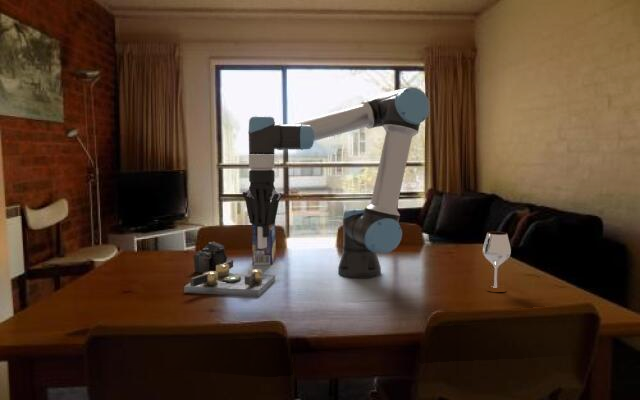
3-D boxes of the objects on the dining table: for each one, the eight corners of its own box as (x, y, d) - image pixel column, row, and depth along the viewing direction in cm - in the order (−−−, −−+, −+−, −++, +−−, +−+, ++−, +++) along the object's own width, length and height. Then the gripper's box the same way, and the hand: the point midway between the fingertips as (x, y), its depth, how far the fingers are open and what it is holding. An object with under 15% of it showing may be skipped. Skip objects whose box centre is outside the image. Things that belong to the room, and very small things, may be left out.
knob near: (210, 280, 154) (210, 270, 154) (220, 282, 152) (220, 271, 152) (186, 288, 146) (186, 277, 145) (197, 290, 143) (197, 279, 143)
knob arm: (250, 278, 157) (250, 268, 156) (263, 279, 156) (263, 268, 155) (240, 287, 147) (239, 276, 146) (254, 287, 146) (253, 276, 145)
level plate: (275, 280, 162) (275, 271, 162) (258, 296, 144) (258, 286, 144) (208, 277, 167) (207, 268, 166) (183, 292, 149) (183, 283, 148)
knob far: (226, 276, 159) (226, 266, 158) (214, 276, 160) (213, 266, 159) (237, 269, 169) (237, 259, 168) (225, 268, 169) (225, 259, 169)
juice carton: (271, 265, 185) (270, 202, 182) (252, 264, 185) (251, 202, 183) (275, 258, 197) (275, 199, 194) (257, 258, 197) (256, 199, 195)
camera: (216, 274, 171) (215, 247, 170) (191, 273, 173) (190, 245, 172) (232, 266, 184) (231, 240, 183) (208, 264, 186) (207, 239, 185)
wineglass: (496, 295, 145) (498, 236, 143) (475, 288, 152) (477, 232, 150) (515, 291, 149) (517, 234, 147) (494, 285, 156) (496, 230, 154)
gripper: (287, 169, 143) (287, 247, 145) (251, 168, 149) (252, 243, 151) (272, 170, 136) (273, 252, 139) (236, 169, 142) (237, 247, 145)
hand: (262, 247), depth 145 cm, fingers closed
